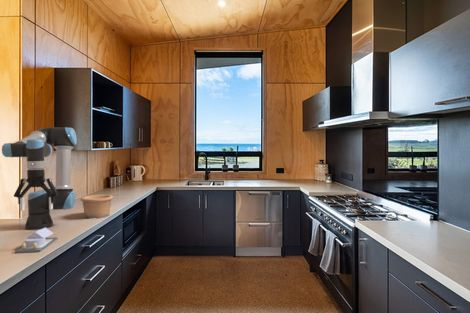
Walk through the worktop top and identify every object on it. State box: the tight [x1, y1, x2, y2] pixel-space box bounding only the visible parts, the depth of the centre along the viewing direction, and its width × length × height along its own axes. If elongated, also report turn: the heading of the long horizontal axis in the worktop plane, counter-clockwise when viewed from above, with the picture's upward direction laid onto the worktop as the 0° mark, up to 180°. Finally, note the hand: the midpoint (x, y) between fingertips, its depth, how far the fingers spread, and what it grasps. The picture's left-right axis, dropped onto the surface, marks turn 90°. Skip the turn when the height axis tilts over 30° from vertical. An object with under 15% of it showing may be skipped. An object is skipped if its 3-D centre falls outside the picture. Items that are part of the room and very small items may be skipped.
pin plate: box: [14, 236, 59, 254], centre depth 159 cm, size 21×11×4 cm, turn 9°
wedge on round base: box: [24, 227, 55, 248], centre depth 159 cm, size 9×7×13 cm
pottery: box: [80, 194, 114, 219], centre depth 227 cm, size 22×22×14 cm
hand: (36, 209), depth 159 cm, fingers open, 13 cm apart
